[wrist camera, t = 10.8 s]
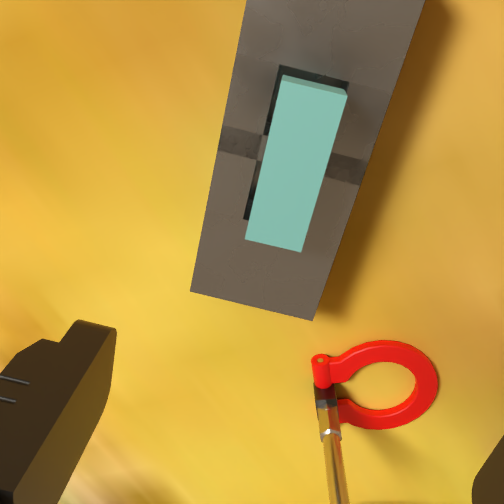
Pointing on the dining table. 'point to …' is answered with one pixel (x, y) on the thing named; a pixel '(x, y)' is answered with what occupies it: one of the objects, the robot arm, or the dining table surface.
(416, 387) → the tow hook
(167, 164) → the dining table surface
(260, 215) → the teal rectangular prism
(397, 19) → the rectangular board
